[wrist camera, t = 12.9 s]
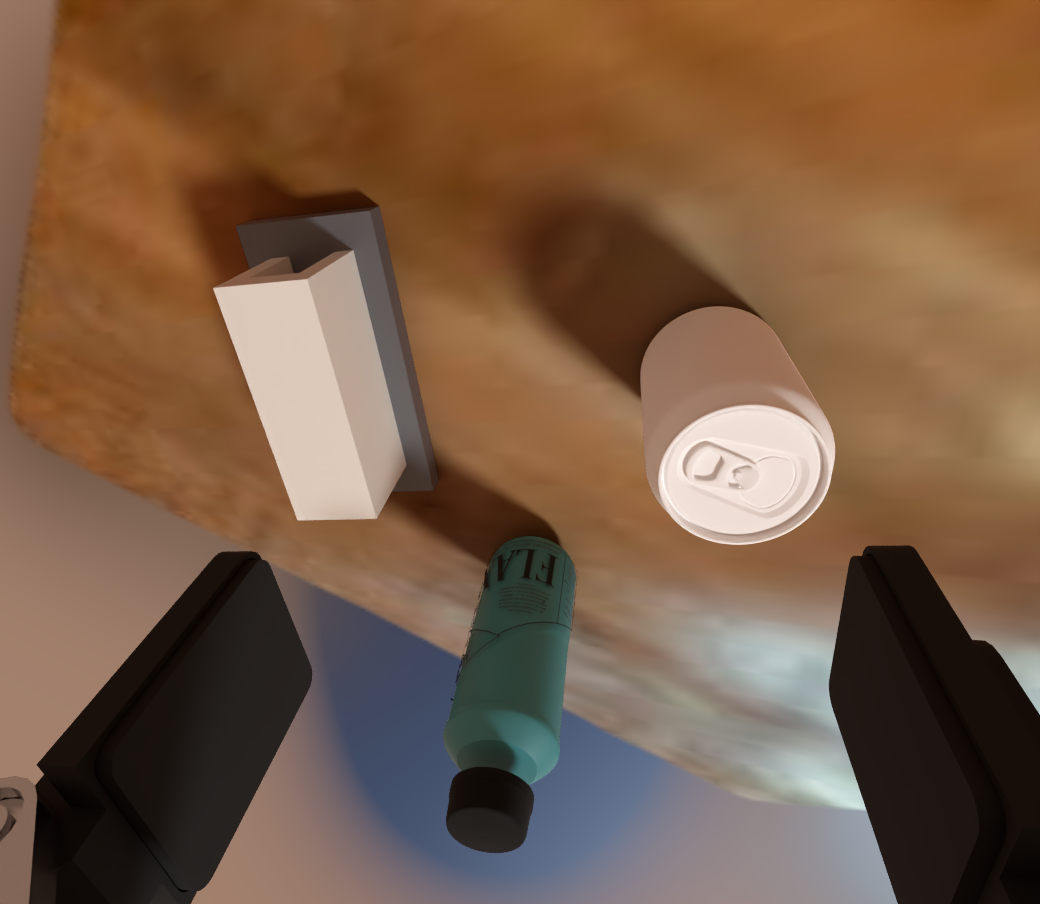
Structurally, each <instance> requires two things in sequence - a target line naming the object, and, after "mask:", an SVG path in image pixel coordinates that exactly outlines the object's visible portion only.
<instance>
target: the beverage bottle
mask: <svg viewBox="0 0 1040 904" xmlns="http://www.w3.org/2000/svg"><path fill="white" fill-rule="evenodd" d="M496 551H497V552H496ZM496 551H495V552H496V553H495V552H494V553H495V554H494V553H493V554H494V556H493V557H492V559H491V562H490V566H489V569H488V573H487V569H486V572H485V580H484V584H483V585H484V588H483V592H482V595H481V599H480V602H479V606H478V605H477V606H478V607H476V608H478V610H477V609H475V610H477V613H476V617H475V613H474V615H473V618H475V621H474V620H473V619H472V620H473V621H474V622H473V624H474V625H473V626H472V630H471V629H470V631H471V636H470V639H468V640H469V641H467V642H466V643H467V644H466V645H467V650H466V654H465V655H464V654H463V657H464V658H462V659H464V660H463V665H462V669H461V672H460V674H459V676H458V675H457V676H458V678H459V680H458V681H457V680H456V681H457V682H458V684H457V688H456V691H455V695H454V700H453V699H451V700H453V704H452V708H451V712H450V716H449V719H448V721H447V723H446V726H445V729H444V745H445V748H446V750H447V752H448V754H449V756H450V757H451V759H452V760H453V762H454V763H455V764H456V765H457V767H458V768H459V769H460V770H461V772H459V773H458V774H457V775H456V776H455V777H454V778H453V780H452V784H451V788H450V793H449V805H448V811H447V817H446V825H447V829H448V831H449V833H450V834H451V835H452V837H453V838H454V839H455V840H457V841H458V842H459V843H461V844H463V845H465V846H467V847H469V848H471V849H474V850H478V851H482V852H488V853H503V852H509V851H512V850H515V849H517V848H518V847H520V846H521V845H522V844H523V842H524V840H525V838H526V835H527V830H528V825H529V820H530V816H531V813H532V810H533V803H534V795H533V791H532V790H531V788H530V787H529V784H532V783H534V782H536V781H537V780H539V779H541V778H542V777H544V776H546V775H547V774H548V773H549V772H550V771H551V770H552V769H553V768H554V767H555V765H556V763H557V761H558V759H559V753H560V743H559V737H560V727H561V715H562V706H563V695H564V684H565V673H566V662H567V652H568V643H569V638H570V630H571V629H570V628H571V619H572V609H573V600H574V598H575V597H574V591H575V581H576V573H575V569H576V568H574V567H575V566H574V564H573V562H572V560H571V558H570V556H569V555H568V554H567V552H566V551H565V550H564V549H563V548H561V547H560V546H559V545H557V544H556V543H554V542H552V541H550V540H548V539H545V538H541V537H535V536H524V537H518V538H514V539H512V540H510V541H508V542H506V543H505V544H503V545H502V546H501V547H500V548H499V549H498V550H496ZM489 560H490V559H489ZM488 564H489V563H488ZM488 564H487V566H488ZM482 583H483V582H482ZM576 585H577V583H576ZM481 587H482V586H481ZM480 593H481V592H480ZM480 593H479V594H480ZM575 595H576V593H575ZM479 597H480V595H479ZM478 599H479V598H478ZM574 605H575V602H574ZM573 615H574V612H573ZM572 624H573V622H572ZM470 631H469V632H470ZM571 631H572V630H571ZM468 634H469V633H468ZM468 642H469V643H468ZM463 652H464V651H463ZM461 664H462V661H461ZM461 664H460V666H461ZM460 666H459V668H460ZM458 678H457V679H458Z"/></svg>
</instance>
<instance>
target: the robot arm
mask: <svg viewBox="0 0 1040 904" xmlns="http://www.w3.org/2000/svg"><path fill="white" fill-rule="evenodd" d="M311 681H312V669H311V665H310V663H309V660H308V658H307V655H306V653H305V650H304V648H303V645H302V643H301V640H300V638H299V636H298V633H297V631H296V628H295V626H294V623H293V621H292V618H291V616H290V613H289V611H288V609H287V606H286V604H285V601H284V599H283V596H282V594H281V591H280V589H279V586H278V584H277V582H276V579H275V577H274V574H273V572H272V570H271V567H270V565H269V563H268V562H267V561H266V560H262V559H261V557H260V555H259V554H257V553H256V552H252V551H240V552H221V553H218V555H216V556H215V557H214V558H213V559H212V560H211V562H210V563H209V564H208V565H207V566H206V568H204V570H203V571H202V572H201V573H200V574H199V576H198V577H197V578H196V579H195V580H194V581H193V583H192V584H191V585H190V586H189V587H188V588H187V590H186V591H185V592H184V593H183V594H182V595H181V597H180V598H179V599H178V600H177V601H176V602H175V604H174V605H173V606H172V607H171V608H170V609H169V611H168V612H167V613H166V614H165V615H164V616H163V618H162V619H161V620H160V621H159V622H158V623H157V625H156V626H155V627H154V628H153V629H152V630H151V632H150V633H149V634H148V635H147V636H146V638H145V639H144V640H143V641H142V642H141V643H140V645H139V646H138V647H137V648H136V649H135V650H134V651H133V653H132V654H131V655H130V656H129V657H128V659H127V660H126V661H125V662H124V663H123V664H122V666H121V667H120V668H119V669H118V670H117V672H116V673H115V674H114V675H113V676H112V677H111V678H110V680H109V681H108V682H107V683H106V684H105V685H104V687H103V688H102V689H101V690H100V691H99V693H98V694H97V695H96V696H95V697H94V698H93V699H92V701H91V702H90V703H89V704H88V706H87V707H86V708H85V709H84V710H83V711H82V712H81V713H80V715H79V716H78V717H77V718H76V719H75V720H74V722H73V723H72V724H71V725H70V726H69V728H68V729H67V730H66V731H65V732H64V733H63V735H62V736H61V737H60V738H59V739H58V740H57V742H56V743H55V744H54V745H53V746H52V747H51V749H50V750H49V751H48V752H47V753H46V754H45V756H44V757H43V758H42V759H41V760H40V761H39V763H38V764H37V766H38V767H39V768H40V770H41V771H42V772H43V773H44V775H43V777H42V778H41V779H40V780H39V781H38V783H37V784H36V785H34V784H33V783H31V781H29V780H28V779H27V778H21V777H15V776H14V777H8V778H1V779H0V904H191V902H192V900H193V898H194V896H195V894H196V892H197V891H200V890H201V889H203V888H204V887H205V886H206V885H207V884H208V883H209V881H210V880H211V878H212V877H213V874H214V873H215V871H216V869H217V867H218V865H219V863H220V861H221V859H222V857H223V855H224V853H225V851H226V849H227V847H228V845H229V844H230V842H231V840H232V838H233V836H234V834H235V832H236V830H237V828H238V826H239V824H240V822H241V820H242V818H243V816H244V814H245V812H246V810H247V809H248V806H249V805H250V803H251V801H252V799H253V797H254V795H255V793H256V791H257V789H258V787H259V785H260V783H261V781H262V779H263V777H264V775H265V773H266V771H267V770H268V768H269V766H270V764H271V762H272V760H273V758H274V756H275V754H276V752H277V750H278V748H279V746H280V744H281V742H282V740H283V739H284V737H285V735H286V733H287V731H288V729H289V727H290V725H291V723H292V721H293V719H294V717H295V715H296V713H297V711H298V709H299V707H300V705H301V704H302V702H303V700H304V698H305V696H306V694H307V692H308V690H309V688H310V685H311ZM829 693H830V700H831V704H832V708H833V711H834V714H835V717H836V720H837V723H838V726H839V729H840V732H841V735H842V738H843V741H844V744H845V747H846V750H847V753H848V756H849V759H850V762H851V765H852V768H853V771H854V774H855V777H856V780H857V783H858V786H859V789H860V792H861V795H862V798H863V801H864V804H865V807H866V810H867V813H868V816H869V819H870V822H871V825H872V827H873V831H874V834H875V837H876V840H877V843H878V846H879V849H880V852H881V855H882V858H883V861H884V864H885V866H886V870H887V873H888V875H889V879H890V881H891V885H892V888H893V891H894V894H895V896H896V900H897V902H898V904H1040V715H1039V713H1038V711H1037V710H1036V708H1035V707H1034V705H1033V704H1032V702H1031V701H1030V699H1029V698H1028V696H1027V695H1026V693H1025V692H1024V690H1023V689H1022V687H1021V686H1020V684H1019V683H1018V681H1017V679H1016V678H1015V676H1014V675H1013V673H1012V672H1011V670H1010V669H1009V667H1008V666H1007V664H1006V663H1005V661H1004V660H1003V658H1002V657H1001V655H1000V654H999V653H998V652H997V650H996V649H995V648H994V647H993V646H992V645H991V644H989V643H987V642H986V641H982V640H972V639H971V637H970V636H969V634H968V633H967V631H966V629H965V628H964V626H963V625H962V623H961V621H960V620H959V618H958V617H957V615H956V613H955V612H954V610H953V608H952V607H951V605H950V604H949V602H948V600H947V599H946V597H945V596H944V594H943V592H942V591H941V589H940V588H939V586H938V584H937V583H936V581H935V580H934V578H933V576H932V575H931V573H930V572H929V570H928V568H927V567H926V565H925V564H924V562H923V560H922V559H921V557H920V556H919V554H918V552H917V551H916V550H915V549H914V547H912V546H867V547H866V548H865V549H864V551H863V555H862V556H853V557H852V558H851V559H850V562H849V568H848V573H847V579H846V585H845V591H844V597H843V603H842V609H841V615H840V620H839V626H838V632H837V638H836V644H835V650H834V656H833V662H832V667H831V673H830V679H829Z"/></svg>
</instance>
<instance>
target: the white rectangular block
mask: <svg viewBox="0 0 1040 904" xmlns="http://www.w3.org/2000/svg"><path fill="white" fill-rule="evenodd" d="M213 290H214V292H215V295H216V298H217V300H218V303H219V306H220V309H221V311H222V314H223V317H224V320H225V322H226V325H227V328H228V331H229V333H230V336H231V339H232V342H233V344H234V347H235V350H236V353H237V355H238V358H239V361H240V364H241V366H242V369H243V372H244V374H245V377H246V380H247V383H248V385H249V388H250V391H251V394H252V396H253V399H254V402H255V405H256V407H257V410H258V413H259V416H260V418H261V421H262V424H263V427H264V429H265V432H266V435H267V438H268V440H269V443H270V446H271V448H272V451H273V454H274V457H275V459H276V462H277V465H278V468H279V470H280V473H281V476H282V479H283V481H284V484H285V487H286V490H287V492H288V495H289V498H290V501H291V503H292V506H293V509H294V512H295V514H296V517H297V520H338V519H377V517H378V515H379V513H380V512H381V510H382V508H383V506H384V505H385V503H386V501H387V499H388V497H389V496H390V494H391V492H392V490H393V488H394V487H395V485H396V483H397V481H398V480H399V478H400V476H401V474H402V472H403V471H404V469H405V467H406V461H405V457H404V453H403V449H402V445H401V441H400V437H399V433H398V429H397V424H396V420H395V416H394V412H393V408H392V404H391V400H390V396H389V392H388V388H387V384H386V380H385V376H384V372H383V368H382V364H381V360H380V356H379V352H378V348H377V344H376V340H375V336H374V332H373V328H372V324H371V320H370V316H369V312H368V308H367V304H366V299H365V295H364V291H363V287H362V283H361V279H360V275H359V271H358V267H357V263H356V259H355V255H354V251H353V250H348V251H338V252H334V253H332V254H330V255H329V256H327V257H325V258H324V259H322V260H320V261H319V262H317V263H315V264H314V265H312V266H310V267H309V268H307V269H305V270H304V271H302V272H300V273H294V272H293V269H292V265H291V262H290V259H289V257H280V258H271V259H269V260H267V261H265V262H263V263H261V264H259V265H257V266H255V267H253V268H251V269H249V270H247V271H246V272H244V273H242V274H240V275H238V276H236V277H234V278H232V279H230V280H228V281H226V282H224V283H222V284H220V285H218V286H216V287H214V288H213Z"/></svg>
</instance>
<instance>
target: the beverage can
mask: <svg viewBox="0 0 1040 904" xmlns="http://www.w3.org/2000/svg"><path fill="white" fill-rule="evenodd" d="M640 383H641V400H642V417H643V434H644V451H645V467H646V474H647V479H648V482H649V485H650V488H651V490H652V492H653V494H654V496H655V497H656V499H657V500H658V502H659V503H660V504H661V506H662V507H663V508H664V509H665V510H666V511H667V512H668V513H669V514H670V516H671V517H672V518H673V519H674V520H675V521H676V522H677V523H678V524H679V525H680V526H682V527H683V528H684V529H686V530H687V531H689V532H690V533H692V534H694V535H696V536H698V537H701V538H703V539H706V540H709V541H713V542H717V543H723V544H734V545H741V544H753V543H759V542H763V541H767V540H770V539H773V538H776V537H779V536H781V535H783V534H785V533H787V532H789V531H791V530H793V529H794V528H796V527H798V526H799V525H800V524H802V523H803V522H804V521H805V520H807V519H808V518H809V517H810V516H811V515H812V514H813V513H814V512H815V510H816V509H817V508H818V507H819V505H820V504H821V502H822V501H823V499H824V497H825V495H826V493H827V490H828V488H829V484H830V480H831V474H832V470H833V466H834V459H835V443H834V437H833V433H832V430H831V427H830V425H829V422H828V420H827V419H826V417H825V415H824V413H823V412H822V410H821V408H820V407H819V405H818V403H817V402H816V400H815V398H814V397H813V395H812V393H811V392H810V390H809V388H808V387H807V385H806V383H805V382H804V380H803V378H802V377H801V375H800V373H799V372H798V370H797V368H796V367H795V365H794V363H793V362H792V360H791V358H790V357H789V355H788V353H787V352H786V350H785V348H784V347H783V345H782V343H781V342H780V340H779V338H778V337H777V335H776V334H775V332H774V331H773V330H772V329H771V328H770V326H769V325H768V324H766V323H765V322H764V321H763V320H762V319H760V318H759V317H757V316H755V315H753V314H752V313H749V312H747V311H744V310H741V309H738V308H733V307H725V306H713V307H705V308H700V309H696V310H693V311H690V312H688V313H685V314H683V315H681V316H679V317H677V318H676V319H674V320H673V321H671V322H670V323H668V324H667V325H666V326H665V327H664V328H663V329H662V330H661V331H660V332H659V333H658V334H657V335H656V336H655V337H654V339H653V340H652V341H651V343H650V345H649V346H648V348H647V350H646V352H645V355H644V358H643V361H642V365H641V373H640Z"/></svg>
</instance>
